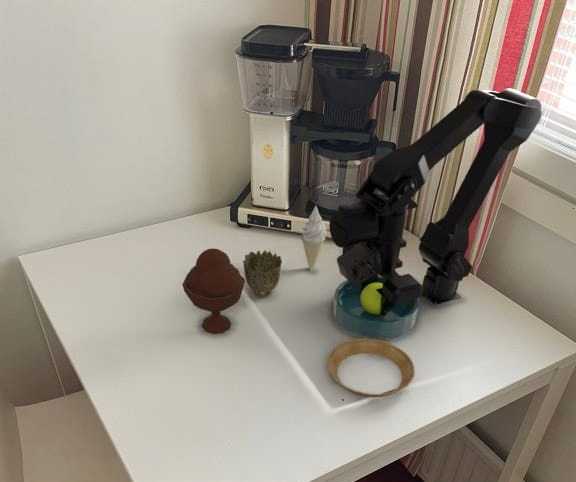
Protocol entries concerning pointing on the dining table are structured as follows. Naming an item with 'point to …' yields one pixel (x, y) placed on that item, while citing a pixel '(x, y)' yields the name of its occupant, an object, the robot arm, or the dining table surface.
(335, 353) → the plant saucer
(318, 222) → the ice cream cone
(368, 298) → the ball
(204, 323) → the ice cream bowl
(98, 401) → the dining table surface
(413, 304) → the glazed bowl
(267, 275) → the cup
